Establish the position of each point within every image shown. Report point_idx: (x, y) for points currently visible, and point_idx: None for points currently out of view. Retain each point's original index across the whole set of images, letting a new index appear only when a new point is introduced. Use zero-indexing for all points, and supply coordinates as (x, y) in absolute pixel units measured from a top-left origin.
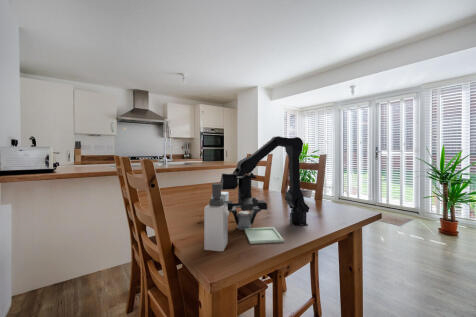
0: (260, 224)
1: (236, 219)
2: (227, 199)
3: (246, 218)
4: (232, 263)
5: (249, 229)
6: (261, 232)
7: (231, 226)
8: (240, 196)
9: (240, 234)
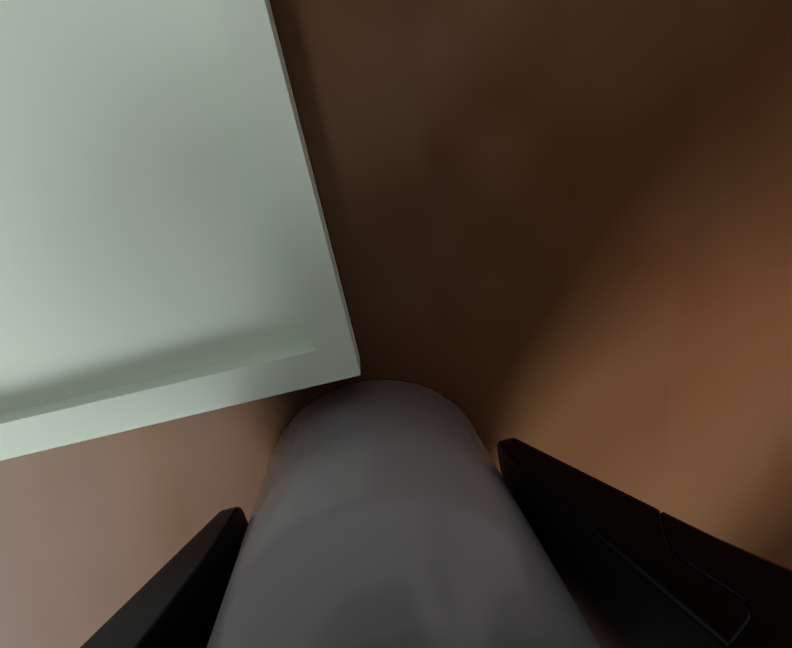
0: None
1: (597, 506)
2: None
3: (315, 567)
4: None
5: (269, 357)
6: (16, 278)
7: None
8: None
9: (419, 190)
